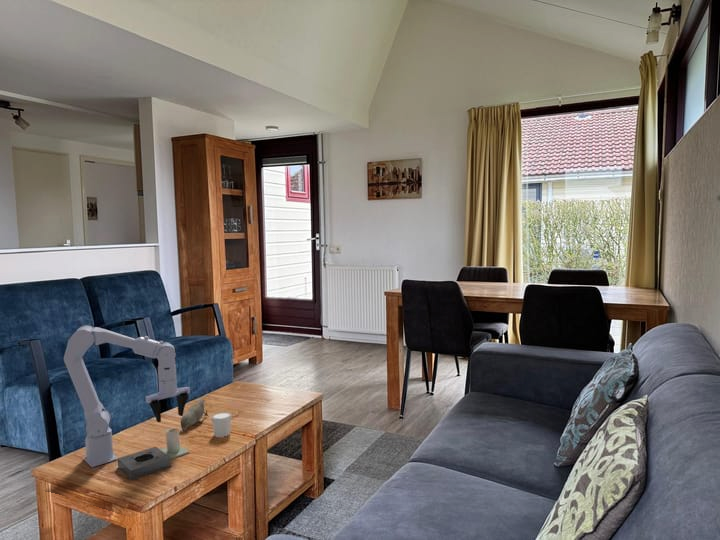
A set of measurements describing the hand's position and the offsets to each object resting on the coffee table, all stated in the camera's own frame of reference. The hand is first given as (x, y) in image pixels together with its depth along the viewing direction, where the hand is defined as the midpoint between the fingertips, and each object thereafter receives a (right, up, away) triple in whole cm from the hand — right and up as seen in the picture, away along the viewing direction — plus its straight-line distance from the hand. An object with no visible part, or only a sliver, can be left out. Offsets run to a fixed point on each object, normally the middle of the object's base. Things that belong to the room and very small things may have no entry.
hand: (169, 418), depth 171 cm
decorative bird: (+1, -9, +23) cm, 25 cm away
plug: (+2, -10, -3) cm, 11 cm away
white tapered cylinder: (+15, -9, +12) cm, 21 cm away
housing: (-3, -11, -13) cm, 18 cm away
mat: (+2, -11, -3) cm, 11 cm away
